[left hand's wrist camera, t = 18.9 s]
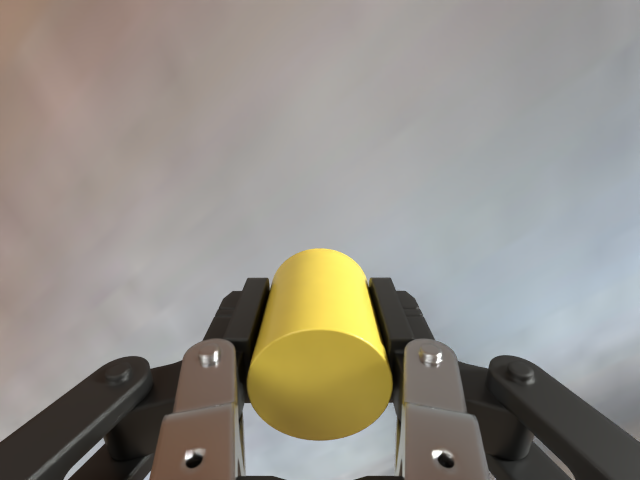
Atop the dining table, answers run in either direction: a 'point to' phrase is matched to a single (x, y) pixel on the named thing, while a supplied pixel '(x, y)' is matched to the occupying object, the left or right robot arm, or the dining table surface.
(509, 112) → the dining table surface
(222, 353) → the left robot arm
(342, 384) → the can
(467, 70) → the dining table surface
